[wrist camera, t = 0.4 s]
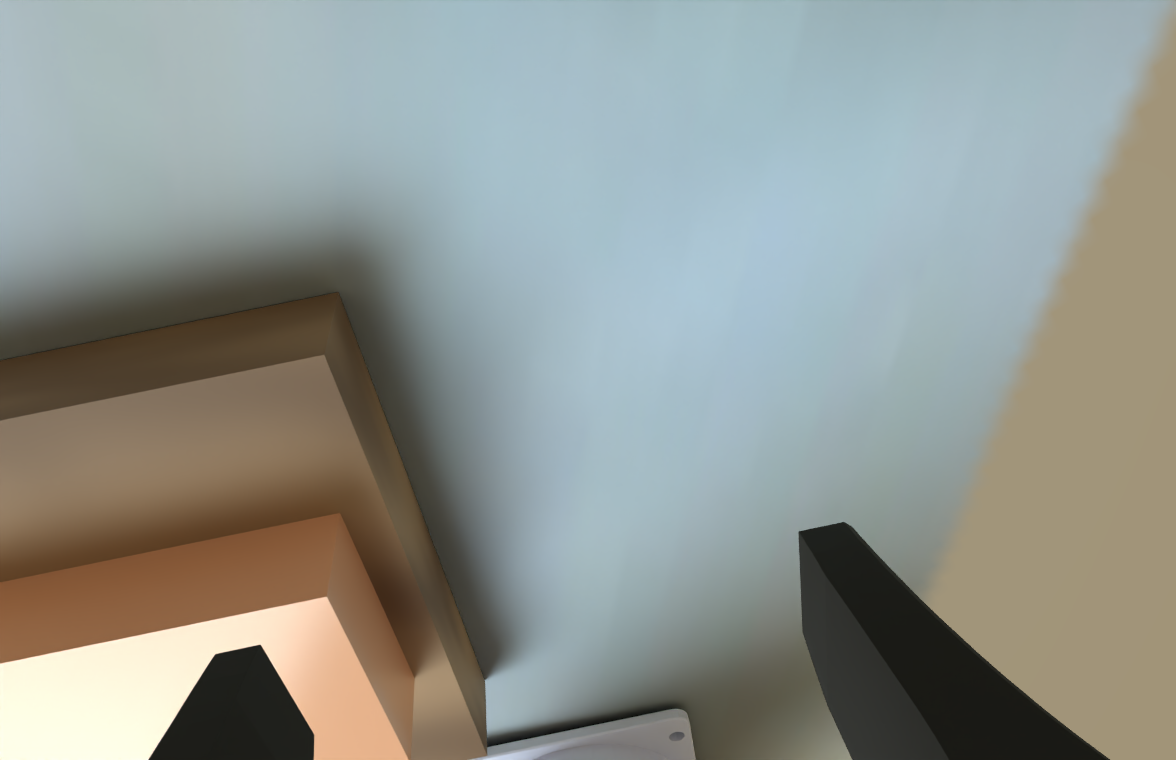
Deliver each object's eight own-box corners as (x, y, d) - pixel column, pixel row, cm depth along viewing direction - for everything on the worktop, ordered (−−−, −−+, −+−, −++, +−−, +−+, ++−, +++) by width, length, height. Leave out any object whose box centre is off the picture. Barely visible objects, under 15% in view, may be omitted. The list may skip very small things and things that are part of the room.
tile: (414, 678, 23) (410, 763, 21) (72, 748, 23) (35, 841, 21) (340, 512, 19) (326, 596, 17) (-65, 595, 19) (-124, 689, 17)
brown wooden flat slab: (484, 681, 27) (487, 755, 25) (38, 773, 27) (3, 855, 25) (338, 292, 19) (323, 354, 17) (-301, 421, 19) (-393, 500, 17)
